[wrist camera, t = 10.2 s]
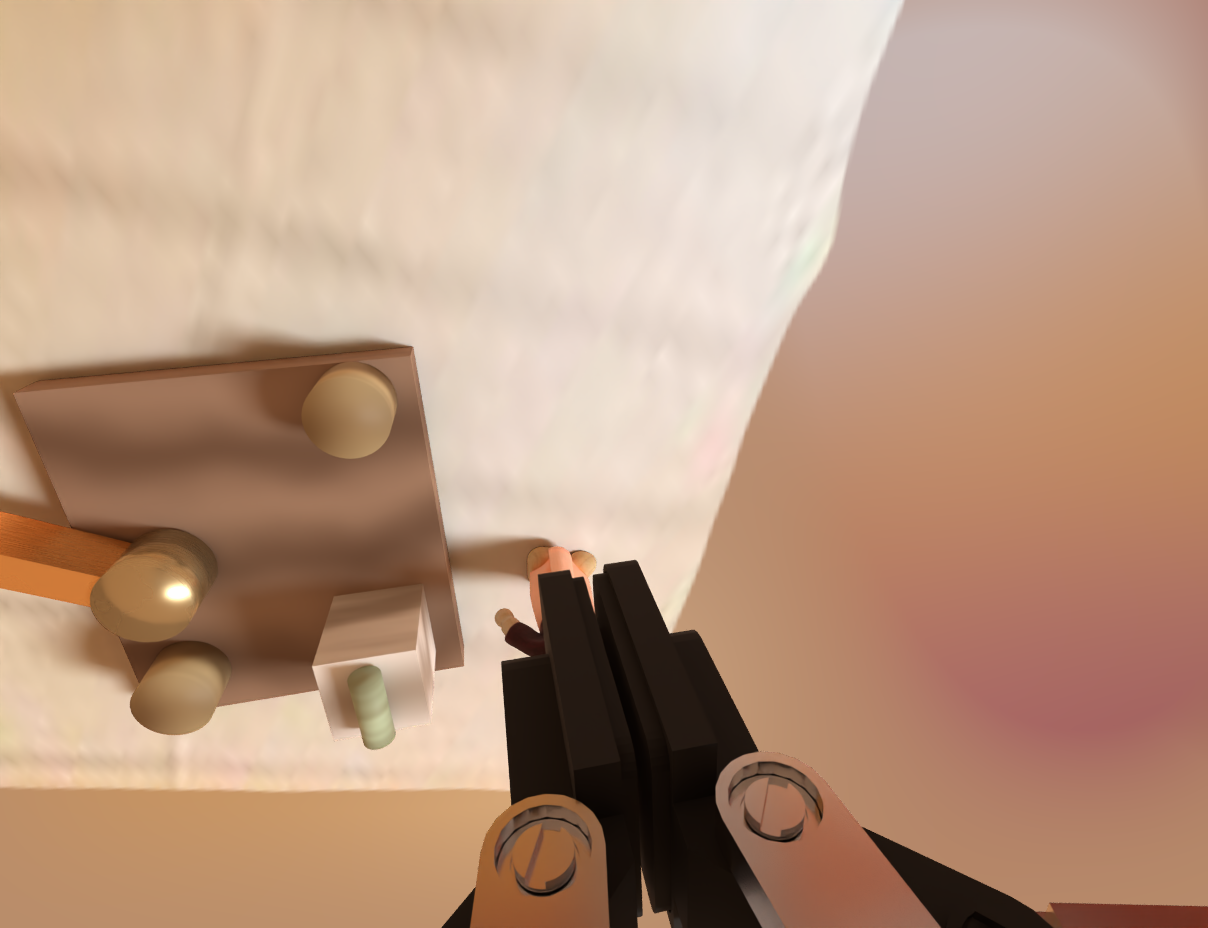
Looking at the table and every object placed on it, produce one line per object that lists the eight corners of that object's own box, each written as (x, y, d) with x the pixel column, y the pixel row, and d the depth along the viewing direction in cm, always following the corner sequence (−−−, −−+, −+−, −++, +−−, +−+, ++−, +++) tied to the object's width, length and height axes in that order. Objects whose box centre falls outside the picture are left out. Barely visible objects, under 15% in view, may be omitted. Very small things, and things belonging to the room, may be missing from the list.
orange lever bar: (226, 542, 35) (202, 579, 32) (207, 608, 37) (182, 650, 33) (-38, 475, 31) (-97, 510, 28) (-49, 551, 33) (-106, 593, 29)
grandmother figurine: (613, 537, 42) (667, 672, 31) (608, 588, 44) (658, 734, 32) (491, 540, 41) (501, 683, 29) (490, 592, 42) (499, 748, 31)
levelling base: (37, 381, 32) (-118, 456, 24) (413, 346, 35) (395, 403, 27) (167, 693, 41) (87, 833, 32) (463, 645, 43) (463, 763, 35)
